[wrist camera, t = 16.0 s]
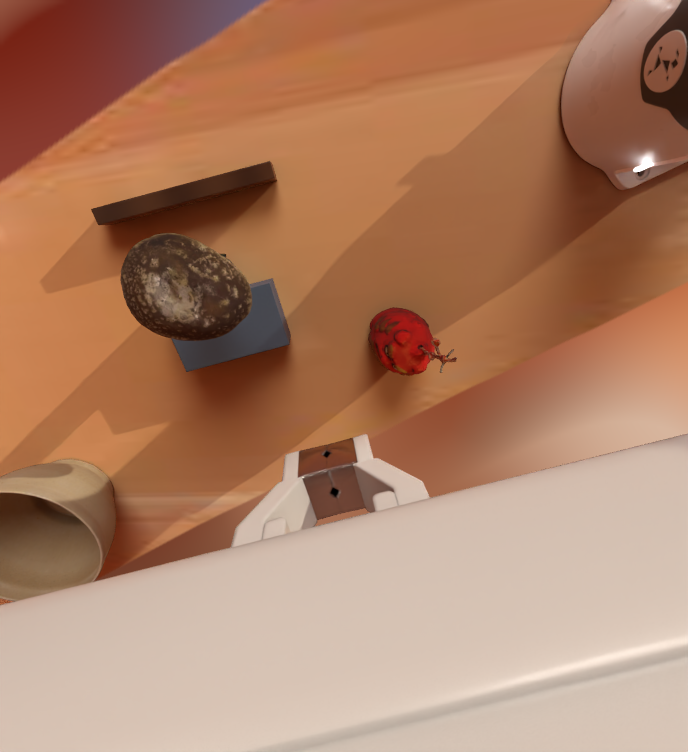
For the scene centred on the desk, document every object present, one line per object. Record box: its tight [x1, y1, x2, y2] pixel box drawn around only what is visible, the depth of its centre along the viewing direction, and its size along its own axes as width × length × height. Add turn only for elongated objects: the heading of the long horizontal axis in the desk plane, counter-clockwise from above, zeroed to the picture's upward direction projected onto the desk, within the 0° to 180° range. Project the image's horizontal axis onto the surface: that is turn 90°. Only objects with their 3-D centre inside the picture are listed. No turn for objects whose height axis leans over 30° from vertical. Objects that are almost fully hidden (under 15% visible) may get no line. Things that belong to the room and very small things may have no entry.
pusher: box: [172, 279, 291, 372], centre depth 43 cm, size 12×7×4 cm, turn 104°
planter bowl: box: [0, 459, 116, 601], centre depth 46 cm, size 16×16×11 cm
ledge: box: [91, 161, 277, 225], centre depth 38 cm, size 18×2×2 cm, turn 104°
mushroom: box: [121, 233, 252, 341], centre depth 35 cm, size 9×9×15 cm
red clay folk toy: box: [368, 308, 457, 376], centre depth 40 cm, size 8×7×15 cm
